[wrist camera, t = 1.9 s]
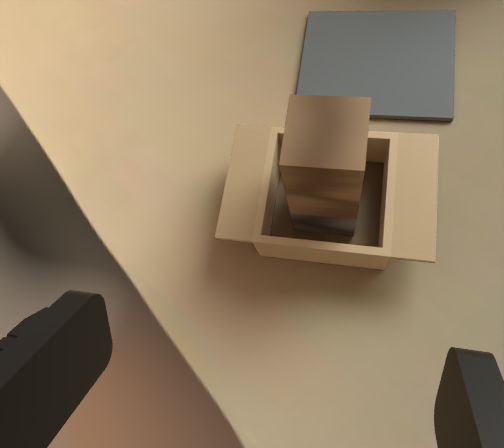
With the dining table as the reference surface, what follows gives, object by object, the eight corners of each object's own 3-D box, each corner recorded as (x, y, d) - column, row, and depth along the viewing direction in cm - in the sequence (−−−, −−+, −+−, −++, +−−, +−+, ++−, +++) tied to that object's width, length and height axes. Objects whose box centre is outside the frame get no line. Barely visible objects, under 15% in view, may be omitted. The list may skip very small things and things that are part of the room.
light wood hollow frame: (427, 159, 37) (438, 134, 33) (423, 274, 33) (435, 261, 30) (245, 148, 40) (237, 124, 36) (225, 251, 37) (214, 237, 33)
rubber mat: (453, 14, 41) (455, 10, 41) (452, 121, 37) (453, 118, 37) (309, 15, 44) (308, 11, 44) (294, 114, 40) (293, 111, 40)
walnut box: (358, 181, 37) (371, 97, 26) (353, 236, 36) (364, 170, 24) (301, 177, 38) (290, 94, 27) (294, 230, 37) (278, 164, 25)
